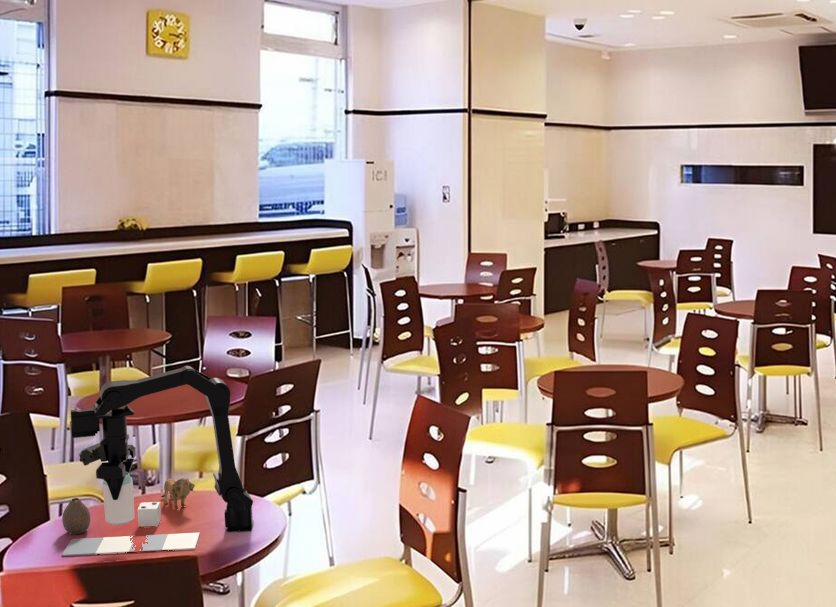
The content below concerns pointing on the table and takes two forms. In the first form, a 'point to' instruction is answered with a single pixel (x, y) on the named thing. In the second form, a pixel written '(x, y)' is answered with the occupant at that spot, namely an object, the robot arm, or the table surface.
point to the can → (119, 503)
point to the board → (130, 544)
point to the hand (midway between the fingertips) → (118, 494)
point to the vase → (76, 517)
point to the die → (149, 514)
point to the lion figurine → (177, 490)
